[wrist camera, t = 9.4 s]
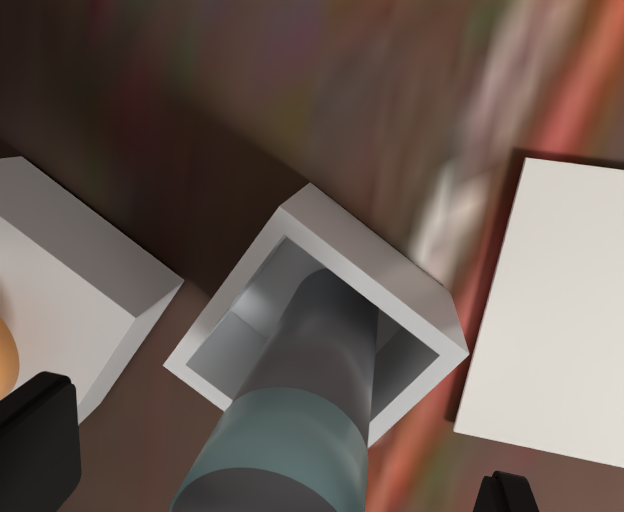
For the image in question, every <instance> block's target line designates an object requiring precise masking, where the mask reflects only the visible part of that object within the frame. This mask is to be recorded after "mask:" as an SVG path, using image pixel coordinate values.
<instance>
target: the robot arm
mask: <svg viewBox="0 0 624 512" xmlns="http://www.w3.org/2000/svg"><path fill="white" fill-rule="evenodd" d="M80 478H81V458H80V443H79V427H78V412H77V397H76V387H75V385H74V384H72V383H71V379H70V378H69V377H68V376H66V375H61V374H57V373H52V372H48V371H42V372H40V373H38V374H36V375H35V376H34V377H32V378H31V379H29V380H28V381H27V382H25V383H24V384H22V385H21V386H20V387H18V388H17V389H16V390H14V391H13V392H11V393H10V394H9V395H7V396H6V397H4V398H3V399H2V400H0V512H56V511H57V510H58V509H59V508H60V506H61V505H62V504H63V503H64V502H65V501H66V499H67V498H68V497H69V496H70V495H71V494H72V492H73V491H74V490H75V489H76V487H77V485H78V483H79V481H80ZM473 512H539V510H538V507H537V504H536V502H535V499H534V496H533V493H532V491H531V488H530V485H529V483H528V481H527V479H526V478H525V477H524V476H519V475H514V474H510V473H505V472H501V471H495V472H494V473H493V475H492V477H489V476H485V477H484V478H483V480H482V483H481V487H480V490H479V493H478V496H477V500H476V503H475V506H474V510H473Z"/></svg>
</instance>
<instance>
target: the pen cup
mask: <svg viewBox="0 0 624 512" xmlns="http://www.w3.org/2000/svg"><path fill="white" fill-rule="evenodd" d="M325 268H328V269H330V270H331V271H332V272H333V273H335V274H336V275H337V276H339V277H340V278H341V279H342V280H344V281H345V282H346V283H348V284H349V285H350V286H351V287H353V288H354V289H355V290H357V291H358V292H359V293H360V294H362V295H363V296H364V297H366V298H367V299H368V300H369V301H371V302H372V303H373V304H375V305H376V306H377V307H379V315H378V327H377V339H376V352H375V364H374V376H373V388H372V400H371V412H370V424H369V436H368V448H369V447H370V446H371V445H372V444H373V443H374V442H375V441H377V440H378V439H379V438H380V437H381V436H382V435H383V434H384V433H385V432H386V431H387V430H388V429H389V428H391V427H392V426H393V425H394V424H395V423H396V422H397V421H398V420H399V419H400V418H401V417H402V416H404V415H405V414H406V413H407V412H408V411H409V410H410V409H411V408H412V407H413V406H414V405H415V404H416V403H418V402H419V401H420V400H421V399H422V398H423V397H424V396H425V395H426V394H427V393H428V392H429V391H431V390H432V389H433V388H434V387H435V386H436V385H437V384H438V383H439V382H440V381H441V380H442V379H443V378H445V377H446V376H447V375H448V374H449V373H450V372H451V371H452V370H453V369H454V368H455V367H456V366H458V365H459V364H460V363H461V362H462V361H463V360H464V359H465V358H466V357H467V356H468V355H469V351H468V348H467V345H466V341H465V338H464V335H463V332H462V329H461V325H460V322H459V319H458V316H457V313H456V309H455V306H454V303H453V300H452V296H451V293H450V292H449V291H448V290H447V289H445V288H444V287H443V286H442V285H440V284H439V283H438V282H437V281H435V280H434V279H433V278H431V277H430V276H429V275H428V274H426V273H425V272H424V271H423V270H421V269H420V268H419V267H417V266H416V265H415V264H414V263H412V262H411V261H410V260H408V259H407V258H406V257H405V256H403V255H402V254H401V253H400V252H398V251H397V250H396V249H394V248H393V247H392V246H391V245H389V244H388V243H387V242H386V241H384V240H383V239H382V238H380V237H379V236H378V235H377V234H375V233H374V232H373V231H372V230H370V229H369V228H368V227H366V226H365V225H364V224H363V223H361V222H360V221H359V220H358V219H356V218H355V217H354V216H352V215H351V214H350V213H349V212H347V211H346V210H345V209H344V208H342V207H341V206H340V205H338V204H337V203H336V202H335V201H333V200H332V199H331V198H330V197H328V196H327V195H326V194H324V193H323V192H322V191H321V190H319V189H318V188H317V187H316V186H314V185H313V184H312V183H309V184H307V185H306V186H305V187H303V188H302V189H301V190H300V191H298V192H297V193H296V194H294V195H293V196H292V197H291V198H289V199H288V200H287V201H285V202H284V203H283V204H281V205H280V206H279V207H278V209H277V210H276V211H275V213H274V214H273V216H272V217H271V218H270V220H269V221H268V222H267V224H266V225H265V226H264V228H263V229H262V231H261V232H260V233H259V235H258V236H257V237H256V239H255V240H254V242H253V243H252V244H251V246H250V247H249V248H248V250H247V251H246V253H245V254H244V255H243V257H242V258H241V259H240V261H239V262H238V263H237V265H236V266H235V268H234V269H233V270H232V272H231V273H230V274H229V276H228V277H227V279H226V280H225V281H224V283H223V284H222V285H221V287H220V288H219V290H218V291H217V292H216V294H215V295H214V296H213V298H212V299H211V301H210V302H209V303H208V305H207V306H206V307H205V309H204V310H203V311H202V313H201V314H200V316H199V317H198V318H197V320H196V321H195V322H194V324H193V325H192V327H191V328H190V329H189V331H188V332H187V333H186V335H185V336H184V338H183V339H182V340H181V342H180V343H179V344H178V346H177V347H176V348H175V350H174V351H173V353H172V354H171V355H170V357H169V358H168V359H167V361H166V362H165V364H164V365H163V366H164V367H165V368H167V369H168V370H169V371H171V372H172V373H173V374H175V375H176V376H177V377H179V378H180V379H181V380H183V381H184V382H186V383H187V384H188V385H190V386H191V387H192V388H194V389H195V390H196V391H198V392H199V393H200V394H202V395H203V396H204V397H206V398H207V399H208V400H210V401H211V402H212V403H214V404H215V405H216V406H218V407H219V408H220V409H222V410H223V411H224V412H225V410H226V409H227V408H228V407H229V406H230V405H231V403H232V401H233V399H234V398H235V396H236V394H237V393H238V391H239V389H240V387H241V386H242V384H243V382H244V380H245V379H246V377H247V375H248V373H249V372H250V370H251V368H252V366H253V365H254V363H255V361H256V359H257V358H258V356H259V354H260V352H261V351H262V349H263V347H264V346H265V344H266V342H267V340H268V339H269V337H270V335H271V333H272V332H273V330H274V328H275V326H276V325H277V323H278V321H279V319H280V318H281V316H282V314H283V312H284V311H285V309H286V307H287V306H288V304H289V302H290V300H291V299H292V297H293V295H294V293H295V292H296V290H297V288H298V286H299V285H300V283H301V282H302V281H303V280H304V279H305V278H306V277H307V276H309V275H310V274H312V273H313V272H316V271H318V270H321V269H325ZM368 448H367V449H368Z"/></svg>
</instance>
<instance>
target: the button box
mask: <svg viewBox="0 0 624 512" xmlns="http://www.w3.org/2000/svg"><path fill="white" fill-rule="evenodd" d="M184 281H185V280H184V279H182V278H181V277H180V276H178V275H177V274H176V273H174V272H173V271H172V270H170V269H169V268H168V267H166V266H165V265H164V264H162V263H161V262H160V261H159V260H157V259H156V258H155V257H153V256H152V255H151V254H149V253H148V252H147V251H145V250H144V249H143V248H141V247H140V246H139V245H137V244H136V243H135V242H134V241H132V240H131V239H130V238H128V237H127V236H126V235H124V234H123V233H122V232H120V231H119V230H118V229H116V228H115V227H114V226H113V225H111V224H110V223H109V222H107V221H106V220H105V219H103V218H102V217H101V216H99V215H98V214H97V213H95V212H94V211H93V210H91V209H90V208H89V207H88V206H86V205H85V204H84V203H82V202H81V201H80V200H78V199H77V198H76V197H74V196H73V195H72V194H70V193H69V192H68V191H66V190H65V189H64V188H63V187H61V186H60V185H59V184H57V183H56V182H55V181H53V180H52V179H51V178H49V177H48V176H47V175H45V174H44V173H43V172H42V171H40V170H39V169H38V168H36V167H35V166H34V165H32V164H31V163H30V162H28V161H27V160H26V159H24V158H23V157H22V156H20V157H11V158H1V159H0V317H1V318H2V319H3V321H4V322H5V324H6V325H7V327H8V328H9V330H10V332H11V334H12V336H13V338H14V341H15V343H16V347H17V350H18V355H19V366H20V367H19V375H18V379H17V382H16V384H15V386H14V388H13V389H12V391H11V392H13V391H14V390H16V389H17V388H18V387H20V386H21V385H22V384H24V383H25V382H27V381H28V380H29V379H31V378H32V377H34V376H35V375H36V374H38V373H40V372H42V371H48V372H52V373H57V374H61V375H66V376H68V377H69V378H70V379H71V383H72V384H74V385H75V387H76V397H77V412H78V425H79V424H80V423H81V422H82V421H83V420H84V419H85V418H86V417H87V416H88V415H89V414H90V413H91V412H92V411H93V410H94V409H95V408H96V407H97V406H98V405H99V404H100V403H101V402H102V400H103V399H104V397H105V396H106V394H107V393H108V391H109V390H110V389H111V387H112V386H113V384H114V383H115V381H116V380H117V378H118V377H119V375H120V374H121V373H122V371H123V370H124V368H125V367H126V365H127V364H128V362H129V361H130V359H131V358H132V356H133V355H134V354H135V352H136V351H137V349H138V348H139V346H140V345H141V343H142V342H143V340H144V339H145V338H146V336H147V335H148V333H149V332H150V330H151V329H152V327H153V326H154V324H155V323H156V322H157V320H158V319H159V317H160V316H161V314H162V313H163V311H164V310H165V308H166V307H167V305H168V304H169V303H170V301H171V300H172V298H173V297H174V295H175V294H176V292H177V291H178V289H179V288H180V287H181V285H182V284H183V282H184ZM11 392H10V393H11ZM10 393H9V394H10ZM9 394H8V395H9Z"/></svg>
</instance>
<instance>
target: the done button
mask: <svg viewBox="0 0 624 512" xmlns="http://www.w3.org/2000/svg"><path fill="white" fill-rule="evenodd" d="M19 367H20V366H19V355H18V350H17V347H16V343H15V341H14V338H13V336H12V334H11V332H10V330H9V328H8V327H7V325H6V324H5V322H4V321H3V319H2V318H1V317H0V400H2V399H3V398H4V397H6V396H7V395H8V394H9V393H10V392H11V391H12V389H13V388H14V386H15V384H16V382H17V379H18V375H19Z"/></svg>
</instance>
